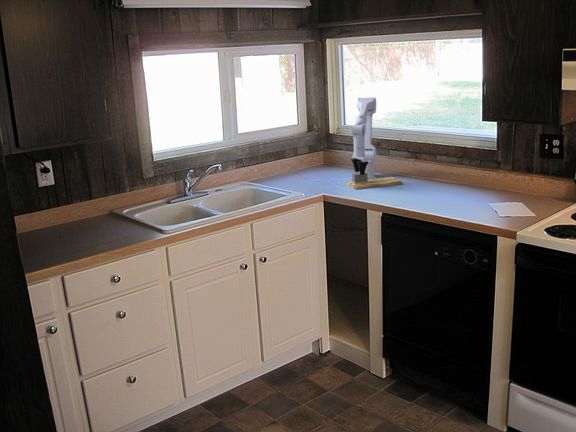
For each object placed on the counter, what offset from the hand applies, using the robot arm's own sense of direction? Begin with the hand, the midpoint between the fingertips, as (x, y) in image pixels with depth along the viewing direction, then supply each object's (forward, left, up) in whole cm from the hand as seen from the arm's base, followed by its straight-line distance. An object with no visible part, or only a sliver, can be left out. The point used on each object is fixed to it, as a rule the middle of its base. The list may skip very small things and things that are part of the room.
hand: (359, 173), depth 330 cm
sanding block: (0, 0, -5) cm, 5 cm away
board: (0, +8, -7) cm, 10 cm away
